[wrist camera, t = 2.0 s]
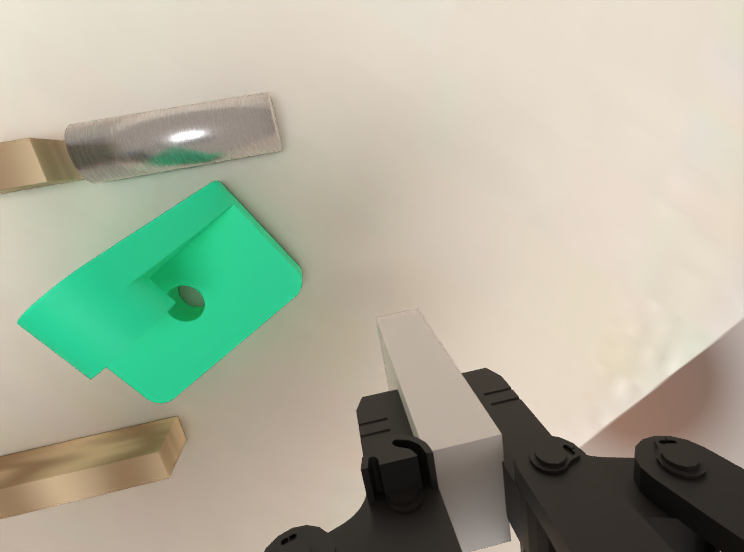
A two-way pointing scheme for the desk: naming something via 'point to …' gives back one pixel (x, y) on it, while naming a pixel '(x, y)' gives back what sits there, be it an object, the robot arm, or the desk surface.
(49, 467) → the u-shaped wooden frame
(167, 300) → the camera mount
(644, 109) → the desk surface
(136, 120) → the shaft stub
